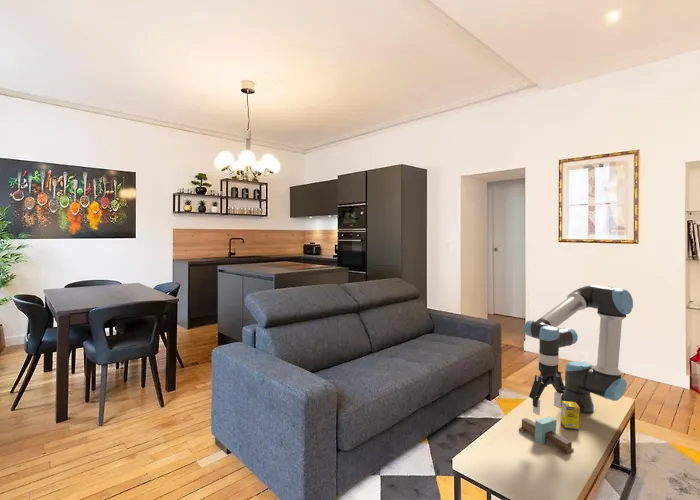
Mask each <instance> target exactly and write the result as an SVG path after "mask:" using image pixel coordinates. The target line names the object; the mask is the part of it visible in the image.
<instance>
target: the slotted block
mask: <svg viewBox="0 0 700 500" xmlns="http://www.w3.org/2000/svg"><path fill="white" fill-rule="evenodd" d="M534 422H535V436H534V441H535V442H536V443H538V444H540V445H544V444H546V443H545V433H547V432H550V431H552V432H554V433H556V434H557V419H556V418H553V417H552V416H550V415H549V416H547V417H542V418H539V419H536V420H535V421H534Z"/></svg>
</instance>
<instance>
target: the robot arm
mask: <svg viewBox="0 0 700 500" xmlns="http://www.w3.org/2000/svg"><path fill="white" fill-rule="evenodd" d="M586 308H590V309H591V308H593V309H597V310H596V311H597V315H598V316H599V317H600V323H599V334H598V347H597V362H596V365H594V366H593V365H592V364H591V363H589V362H585V361H569V362H567V363H566V364H565V369H564V380H563V378H562V372H561V371H559V361H560V360H559V357H560V356H559V350H560V349H561V348H564V347H570V346H572V345H575V344H576V343H577V342H578V339H579V336H578V334H577V332H576V330H575V329H573V328H571V327H563V328H562V327H559V326H560V325H561V324H563V323H564V322H565V321H567V320H568V319H570V318H571V317H573V316H574V315H575V314H576V313H577V312H578V311H583V310H585V309H586ZM633 308H634V299H633V296H632V294H631V293H630V291H628V290H627V289H625V288H621V287H620V288H619V287H613V286H604V285H598V284H590V285H585V286H582V287H579V288H576V289H575V290H573V291H571V292H570V293H569V294H568V295H567V296H566V298H565V299H564V300H563V301H562V302H560V303H559V304H558V305H556V306H554V307H553V308H552V309H551V310H549V311H548V312H546V313H545V314H544V315H542V316H541V317H540V318H539V319H537V320H536V321H535V320H527V321H525V323H524V326H523V332H524V334H525V335H526V336H528V337H531V338H533V339H538V340H539V343H538V344H539V351H538V354H539V355H538V372H540V375H537V374H536V375H534V381H533V384H532V387H531V388H530V389H531V390H530V391H529V395H528V397H529V398H530V399H532V413H533V414H535V415H538V416H540V415H541V413H540V412H541V399H540V398H541V396H542V394H543V392H544V390H545V388H547V386H549V385H552V387H553V389H554V390H555V391H554V398H553V399H554V400H553V403H554V404H553V406H554V407H555V408H558V409H562V401H568V402H575V403H576V404H577V405H578V406H579V407H580V414H589V413H593V412H594V410H595V409H594V407H595V406H594V403H593V398H592V396H591V394H593V395H595V396H596V395H597V396H599V397H601V398H604V399H606V400H610V401H619V400H621V399H622V398H623V396H624V395H625V392H627V391H626V390H627V384H628V383H627V381H626V379H625V378H623V377H622V375H623V374H622V372H621V370H620V368H619V361H620V351H621V349H620V348H621V336H622V335H621V334H622V324H623V320H624V319H626V318H627V315H629V314H631V313H632V311H633V310H632V309H633ZM563 381H564V382H563Z"/></svg>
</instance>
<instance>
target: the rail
mask: <svg viewBox="0 0 700 500" xmlns="http://www.w3.org/2000/svg"><path fill="white" fill-rule="evenodd" d="M518 431H520V432H521V433H528V434H530V435H531V436H534V437H535V421H533V420H531V419H529V418H528V417H525V418H522V419H521V427H518ZM545 444H547V445H549V446H550V447H553V448H554V449H556V450H557V451H556V452H557V454H559V455H561V456H565V455H570V454H571V453H572V452H574V450H575V449H574V448H573V447H572V445H573V443H572V441H570V440H568V439H566V438H565V437H563V436H561V435H560V434H557V432H556V433H554V432H552V431H550V432H547V433H545Z"/></svg>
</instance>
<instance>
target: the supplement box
mask: <svg viewBox="0 0 700 500" xmlns="http://www.w3.org/2000/svg"><path fill="white" fill-rule="evenodd" d="M560 410H561V416H560V423H561V425H562V426H563V428H564V430H571V431H580V414H581V413H580V407H579V406H578V405H577V404H576V403H575V402H568V401H562V405H561V409H560Z"/></svg>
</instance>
